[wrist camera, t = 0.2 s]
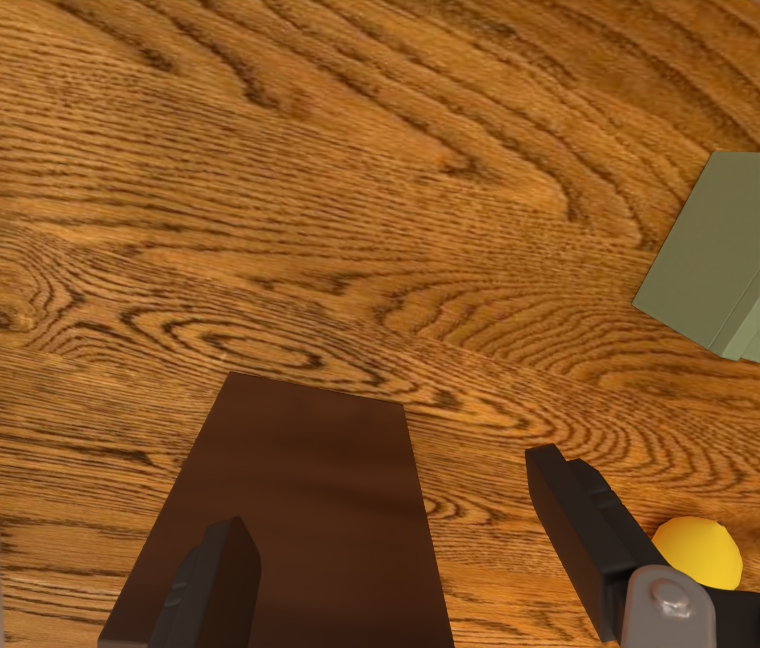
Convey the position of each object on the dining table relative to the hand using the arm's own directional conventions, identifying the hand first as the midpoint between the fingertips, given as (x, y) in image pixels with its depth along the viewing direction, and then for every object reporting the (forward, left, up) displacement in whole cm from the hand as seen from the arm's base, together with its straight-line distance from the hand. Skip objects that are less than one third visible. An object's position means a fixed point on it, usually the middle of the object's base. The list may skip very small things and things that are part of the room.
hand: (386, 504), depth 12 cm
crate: (+11, -1, -14) cm, 18 cm away
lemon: (+12, +29, -14) cm, 34 cm away
